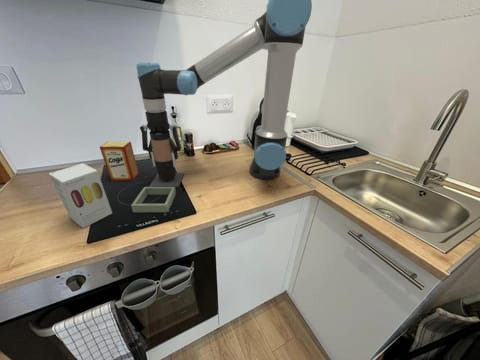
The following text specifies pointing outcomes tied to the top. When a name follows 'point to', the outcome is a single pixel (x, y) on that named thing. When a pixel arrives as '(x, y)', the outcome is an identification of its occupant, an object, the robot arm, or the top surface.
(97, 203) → the supplement box
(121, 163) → the baking soda box
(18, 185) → the top surface
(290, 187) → the top surface
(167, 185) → the rubber mat
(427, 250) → the top surface
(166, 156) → the travel mug
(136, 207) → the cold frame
